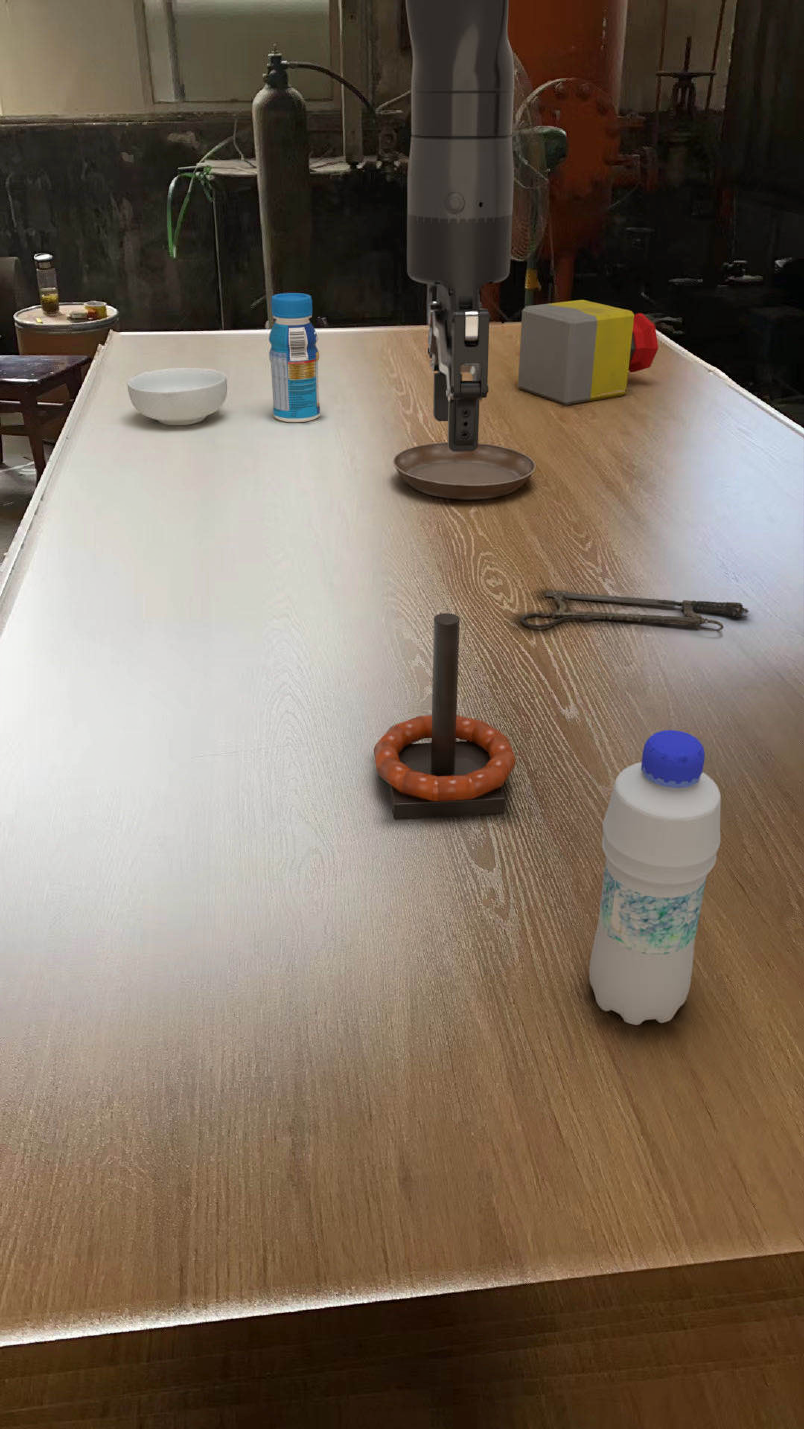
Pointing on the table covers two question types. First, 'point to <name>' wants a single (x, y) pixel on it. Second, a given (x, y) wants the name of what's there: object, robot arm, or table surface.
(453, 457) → the plant saucer
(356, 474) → the table surface
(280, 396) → the beverage bottle
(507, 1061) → the table surface
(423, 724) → the ring
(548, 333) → the emergency stop button
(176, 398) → the cereal bowl
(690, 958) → the bottle
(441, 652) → the stand
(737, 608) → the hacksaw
